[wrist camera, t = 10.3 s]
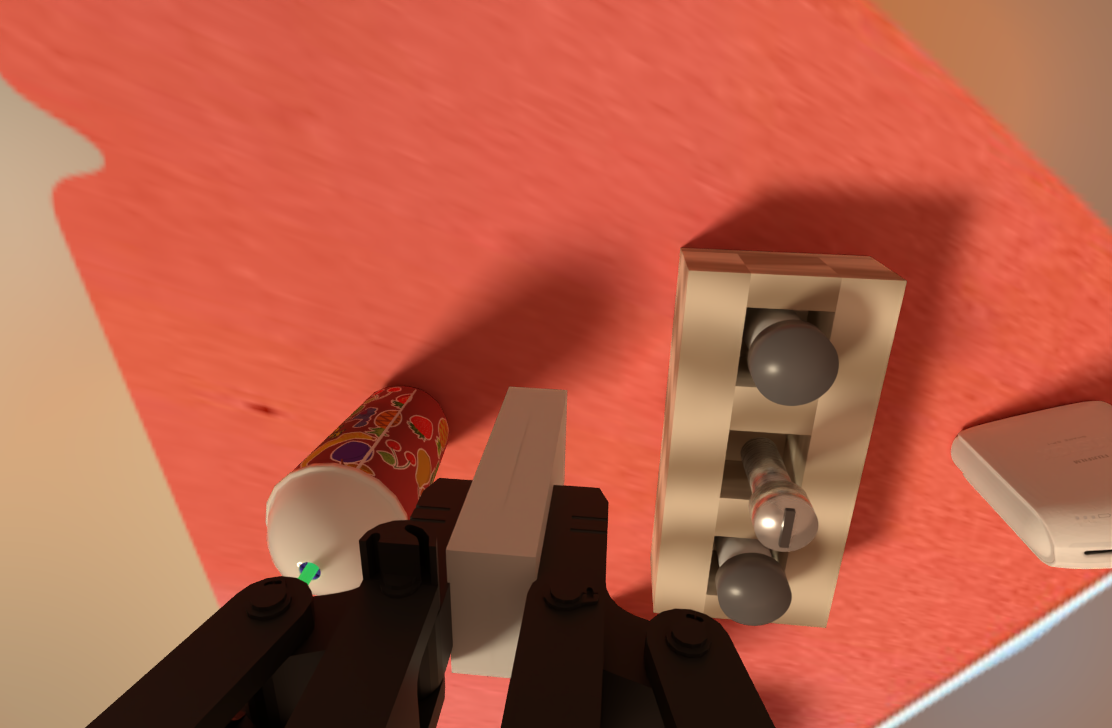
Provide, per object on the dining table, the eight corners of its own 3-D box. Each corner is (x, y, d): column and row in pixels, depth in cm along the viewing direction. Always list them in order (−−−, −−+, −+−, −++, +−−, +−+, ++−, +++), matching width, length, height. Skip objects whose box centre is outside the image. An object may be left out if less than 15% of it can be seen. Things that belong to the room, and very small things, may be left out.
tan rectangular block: (680, 247, 43) (688, 270, 38) (870, 256, 42) (906, 280, 37) (650, 558, 53) (653, 612, 47) (804, 570, 52) (825, 627, 46)
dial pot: (736, 428, 43) (760, 501, 36) (789, 432, 43) (825, 505, 35) (729, 473, 44) (751, 552, 37) (781, 477, 44) (814, 557, 37)
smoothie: (360, 357, 49) (199, 519, 30) (471, 382, 48) (377, 560, 30) (351, 453, 52) (200, 653, 33) (455, 477, 52) (361, 691, 33)
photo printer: (1109, 389, 44) (1277, 493, 33) (1111, 444, 46) (1273, 561, 34) (945, 425, 46) (1049, 535, 35) (951, 477, 48) (1054, 598, 36)
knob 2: (708, 497, 49) (722, 565, 42) (772, 502, 48) (797, 571, 41) (702, 548, 51) (714, 622, 44) (763, 553, 50) (785, 628, 43)
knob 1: (736, 288, 43) (758, 326, 36) (809, 291, 42) (846, 331, 35) (727, 354, 44) (747, 403, 37) (797, 358, 44) (830, 408, 37)
